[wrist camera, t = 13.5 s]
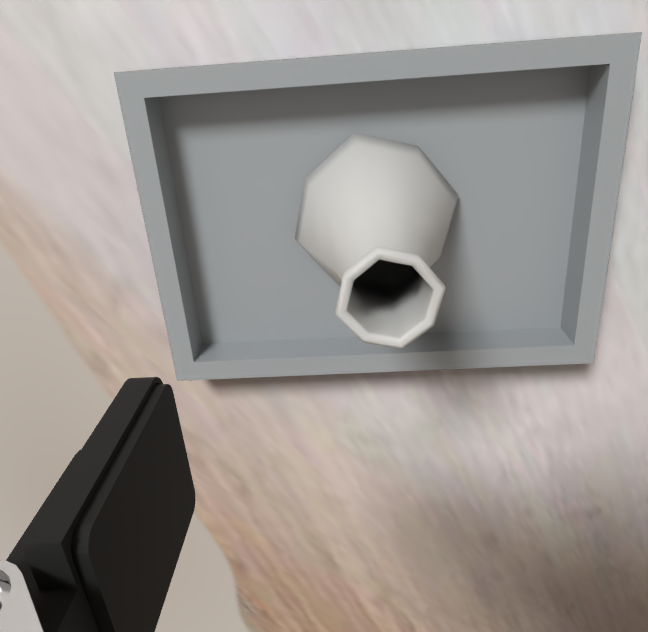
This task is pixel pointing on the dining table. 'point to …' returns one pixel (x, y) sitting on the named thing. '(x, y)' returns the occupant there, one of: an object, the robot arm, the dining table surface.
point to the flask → (379, 235)
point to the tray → (401, 126)
